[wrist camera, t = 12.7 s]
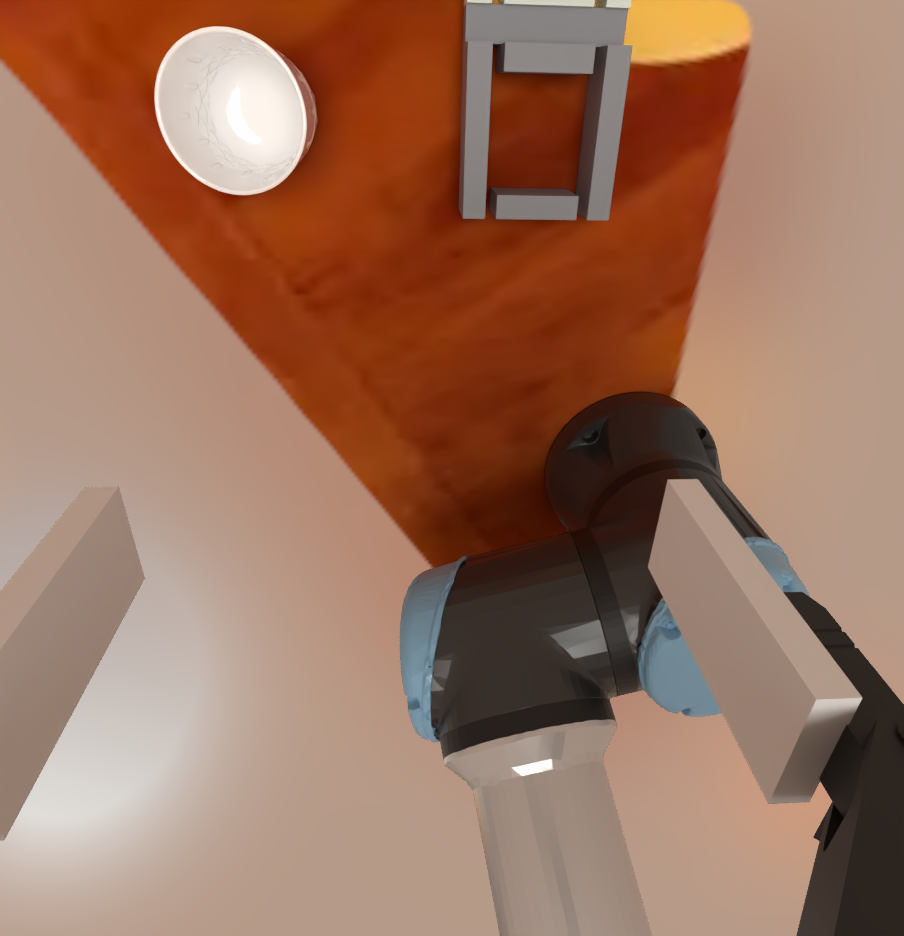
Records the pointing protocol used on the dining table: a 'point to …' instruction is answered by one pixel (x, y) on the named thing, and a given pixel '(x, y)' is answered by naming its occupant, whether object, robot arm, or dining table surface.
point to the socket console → (544, 52)
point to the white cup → (234, 110)
